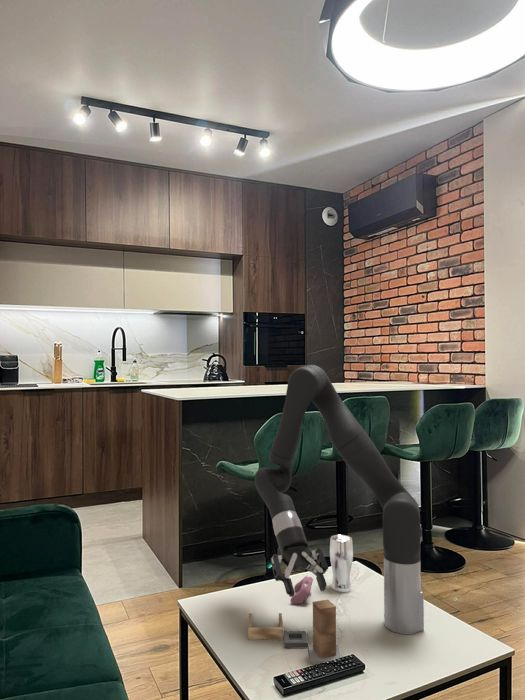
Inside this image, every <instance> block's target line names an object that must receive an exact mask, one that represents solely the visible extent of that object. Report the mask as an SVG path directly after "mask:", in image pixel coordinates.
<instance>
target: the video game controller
mask: <svg viewBox="0 0 525 700" xmlns="http://www.w3.org/2000/svg"><path fill="white" fill-rule="evenodd" d="M313 583H314V578H313V577H312V576H308V575H306V576H304V577H303V578H302V579H301V580H300V581H299V582H296V584H295V585H294V586H293V588H294V591H295V594H294V596H293V597H290V603H291V604H292V605H298V604H301V603H302V602H305V601H306V600H307V598H308V597H311V596H312V594H313V593H312V584H313Z"/></svg>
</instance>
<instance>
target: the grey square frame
mask: <svg viewBox="0 0 525 700" xmlns="http://www.w3.org/2000/svg"><path fill="white" fill-rule="evenodd" d="M290 639H291V640H290ZM297 639H299V640H297ZM283 644H284V645H283V646H284V649H308V645H309V640H308V634H307V630H283Z"/></svg>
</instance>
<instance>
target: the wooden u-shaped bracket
mask: <svg viewBox="0 0 525 700" xmlns="http://www.w3.org/2000/svg"><path fill="white" fill-rule="evenodd" d="M247 628H248V640H284V621H283V613H282V612H279V613H278V626H277V627H276V626H274V627H272V626H271V627H268V626H267V627H264V626H260V627H259V626H258V627H257V626H256V627H255V626H254V627H253V613H252V612H251V613H248V627H247Z"/></svg>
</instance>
